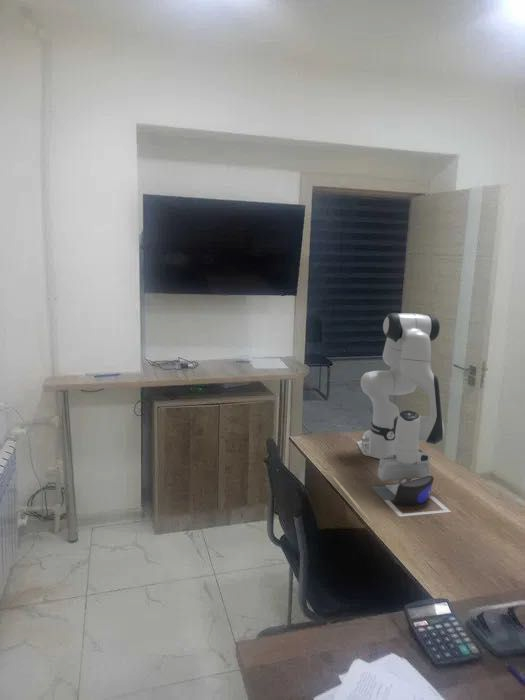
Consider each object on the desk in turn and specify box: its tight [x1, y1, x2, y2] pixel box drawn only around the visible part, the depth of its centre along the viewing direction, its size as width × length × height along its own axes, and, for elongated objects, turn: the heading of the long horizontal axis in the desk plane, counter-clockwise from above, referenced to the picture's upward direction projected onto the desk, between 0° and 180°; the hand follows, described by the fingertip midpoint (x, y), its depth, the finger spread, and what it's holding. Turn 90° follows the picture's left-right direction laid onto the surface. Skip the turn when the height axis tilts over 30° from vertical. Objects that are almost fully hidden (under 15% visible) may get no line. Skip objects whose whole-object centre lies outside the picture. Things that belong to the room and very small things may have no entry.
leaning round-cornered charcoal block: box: [393, 475, 435, 507], centre depth 182 cm, size 16×5×9 cm, turn 117°
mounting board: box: [371, 485, 452, 517], centre depth 186 cm, size 22×20×1 cm
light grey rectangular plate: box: [384, 483, 398, 497], centre depth 191 cm, size 8×10×1 cm
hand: (402, 488), depth 191 cm, fingers closed, pressing on light grey rectangular plate
